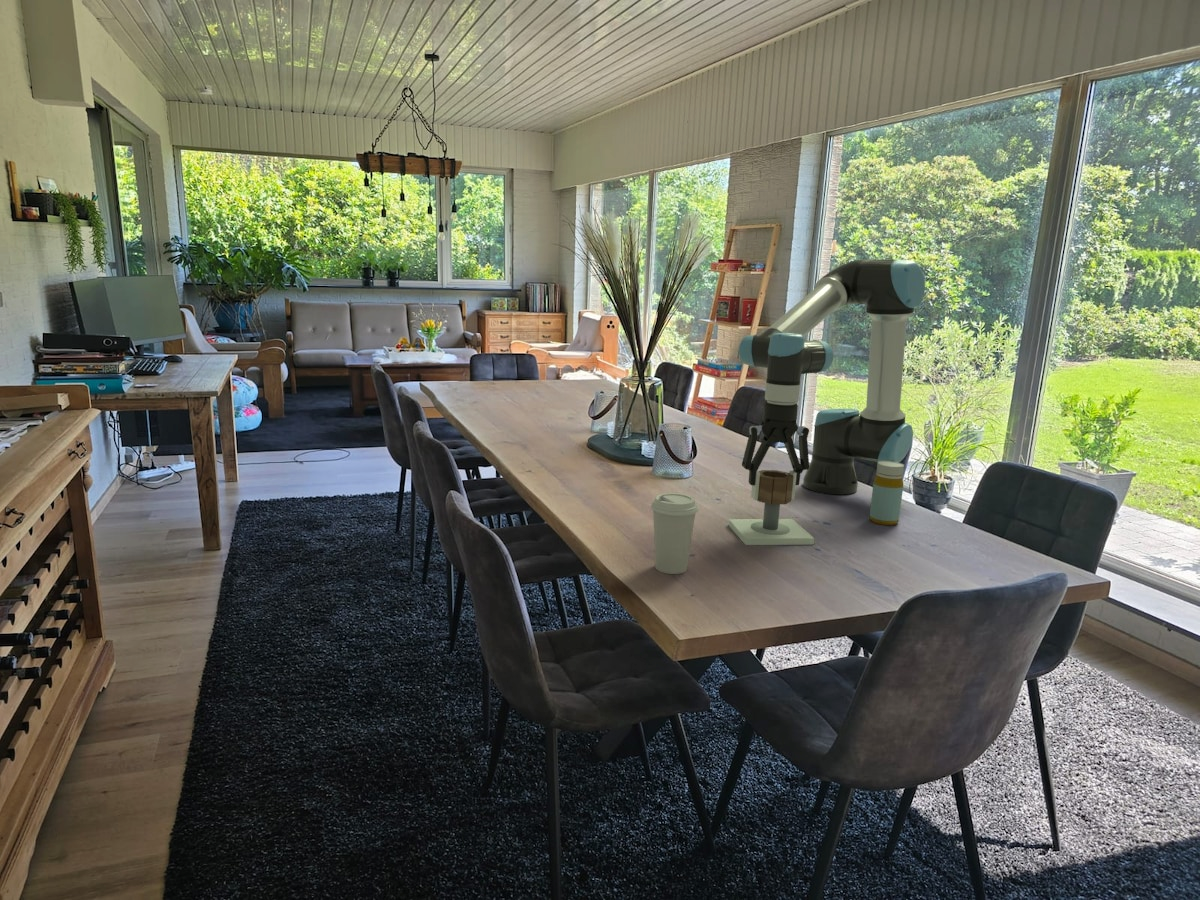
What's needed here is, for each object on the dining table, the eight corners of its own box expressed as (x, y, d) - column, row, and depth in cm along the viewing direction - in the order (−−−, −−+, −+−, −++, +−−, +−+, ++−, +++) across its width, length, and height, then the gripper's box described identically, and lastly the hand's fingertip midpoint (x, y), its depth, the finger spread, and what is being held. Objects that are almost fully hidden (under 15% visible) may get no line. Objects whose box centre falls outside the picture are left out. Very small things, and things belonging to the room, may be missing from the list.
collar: (782, 494, 184) (785, 470, 182) (795, 504, 176) (797, 479, 175) (750, 494, 183) (752, 470, 181) (761, 504, 175) (763, 478, 174)
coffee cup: (644, 559, 163) (648, 491, 159) (689, 559, 164) (693, 491, 160) (651, 577, 154) (655, 505, 150) (698, 577, 154) (703, 505, 151)
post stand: (791, 524, 189) (795, 483, 187) (813, 544, 176) (818, 500, 173) (728, 525, 187) (731, 483, 185) (745, 545, 174) (749, 500, 171)
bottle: (897, 519, 196) (905, 462, 193) (898, 527, 190) (906, 468, 187) (869, 515, 199) (875, 459, 195) (869, 523, 192) (875, 465, 189)
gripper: (818, 400, 179) (809, 493, 184) (731, 398, 177) (724, 493, 182) (831, 405, 172) (821, 503, 177) (741, 404, 169) (733, 503, 174)
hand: (772, 498), depth 179 cm, fingers closed on collar, 8 cm apart
